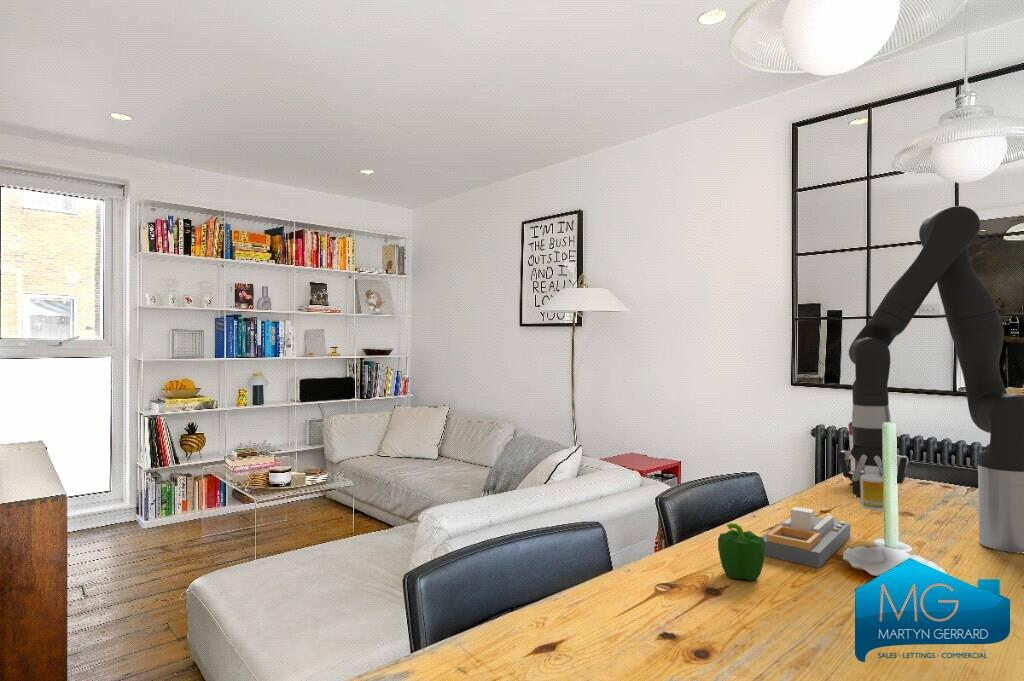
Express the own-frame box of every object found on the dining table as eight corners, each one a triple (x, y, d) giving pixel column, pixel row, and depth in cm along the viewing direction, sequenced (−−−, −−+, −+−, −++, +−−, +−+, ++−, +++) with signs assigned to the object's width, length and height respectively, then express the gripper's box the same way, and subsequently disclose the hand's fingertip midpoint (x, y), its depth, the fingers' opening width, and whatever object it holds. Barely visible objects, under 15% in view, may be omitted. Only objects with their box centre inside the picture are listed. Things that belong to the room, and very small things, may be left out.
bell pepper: (764, 571, 115) (763, 519, 115) (767, 587, 107) (766, 532, 107) (718, 565, 118) (718, 515, 118) (718, 581, 110) (717, 527, 110)
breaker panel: (850, 536, 136) (850, 514, 136) (819, 568, 116) (819, 542, 116) (794, 525, 144) (794, 505, 144) (756, 553, 124) (756, 530, 124)
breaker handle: (814, 532, 128) (814, 509, 128) (810, 535, 126) (810, 512, 126) (795, 528, 131) (795, 506, 131) (790, 531, 129) (790, 509, 129)
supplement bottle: (893, 510, 132) (891, 467, 132) (868, 511, 132) (867, 467, 132) (879, 504, 137) (877, 462, 137) (855, 504, 137) (854, 462, 138)
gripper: (832, 424, 137) (834, 497, 137) (905, 428, 127) (908, 507, 127) (840, 421, 142) (842, 491, 142) (911, 424, 133) (914, 500, 133)
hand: (873, 498), depth 135 cm, fingers closed on supplement bottle, 5 cm apart
